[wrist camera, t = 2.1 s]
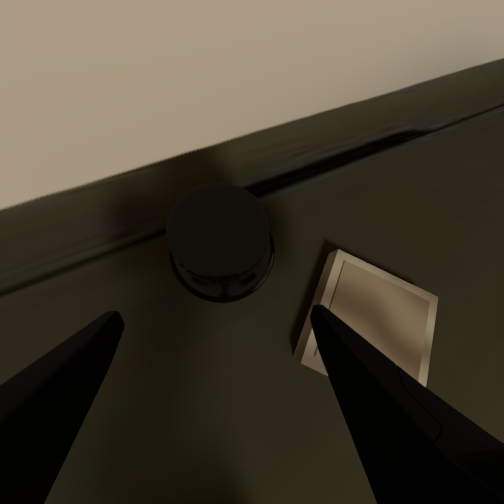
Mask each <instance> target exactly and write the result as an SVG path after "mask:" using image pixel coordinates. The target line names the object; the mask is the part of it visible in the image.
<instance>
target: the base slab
mask: <svg viewBox="0 0 504 504" xmlns="http://www.w3.org/2000/svg"><path fill="white" fill-rule="evenodd" d="M437 303H438V297H437V296H435V295H433V294H431V293H429V292H427V291H425V290H422V289H420V288H418V287H416V286H414V285H412V284H410V283H408V282H406V281H404V280H402V279H400V278H398V277H395V276H393V275H391V274H389V273H387V272H385V271H383V270H381V269H379V268H377V267H375V266H373V265H371V264H368V263H366V262H364V261H362V260H360V259H358V258H356V257H354V256H352V255H350V254H348V253H346V252H344V251H341V250H339V249H338V250H335V251H333V252H331V253H329V254H328V257H327V260H326V263H325V266H324V269H323V272H322V275H321V278H320V280H319V283H318V286H317V289H316V292H315V295H314V298H313V301H312V303H311V306H310V309H309V312H308V315H307V318H306V321H305V324H304V327H303V329H302V332H301V335H300V338H299V341H298V344H297V347H296V350H295V353H294V355H293V356H294V357H295V358H296V359H297V360H298V361H299V362H300V363H302V364H304V365H306V366H308V367H310V368H312V369H314V370H316V371H318V372H320V373H322V374H324V375H327V376H328V374H327V371H326V369H325V366H324V364H323V361H322V359H321V356H320V353H319V350H318V347H317V343H316V340H315V336H314V332H313V329H312V325H311V322H310V314H311V311H312V308H313V306H314V305H316V304H322V305H324V306H325V307H326V308H327V309H329V310H330V311H331V312H332V313H334V314H335V315H336V316H337V317H339V318H340V319H341V320H342V321H344V322H345V323H346V324H347V325H348V326H350V327H351V328H352V329H353V330H355V331H356V332H357V333H358V334H360V335H361V336H362V337H363V338H365V339H366V340H367V341H368V342H369V343H371V344H372V345H373V346H374V347H376V348H377V349H378V350H379V351H381V352H382V353H383V354H384V355H386V356H387V357H388V358H389V359H390V360H392V361H393V362H394V363H395V364H396V365H398V366H399V367H400V368H402V369H403V370H404V371H405V372H407V373H408V374H409V375H410V376H412V377H413V378H414V379H416V380H417V381H418V382H419V383H421V384H422V385H423V386H424V387H426V383H427V375H428V368H429V361H430V354H431V346H432V339H433V332H434V324H435V317H436V310H437Z"/></svg>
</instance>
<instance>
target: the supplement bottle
mask: <svg viewBox="0 0 504 504" xmlns="http://www.w3.org/2000/svg"><path fill="white" fill-rule="evenodd" d="M167 219H168V222H167V224H166V226H165V227H166V230H167V232H166V236H165V237H166V239H167V240H168V248H169V249H170V262H171V266H172V269H173V272H174V274H175V276H176V278H177V279H178V281H179V282H180V283H181V284H182V286H183V287H184V288H185V289H186V290H188V291H189V292H190V293H192V294H193V295H195V296H197V297H199V298H201V299H204V300H207V301H211V302H217V303H227V302H234V301H237V300H240V299H242V298H245V297H247V296H249V295H250V294H252V293H253V292H255V291H256V290H257V289H258V288H259V287H260V286H261V285H262V284H263V283H264V281H265V280H266V279H267V277H268V275H269V273H270V271H271V269H272V266H273V262H274V255H275V248H274V241H273V237H272V234H271V232H270V229H271V228H270V226H269V218H268V217H267V215H266V210H265V209H264V208H263V207H262V204H261V202H259V201H258V200H257V199H256V197H255V196H254V195H252V194H250V193H249V192H248V190H244V189H242V188H241V187H240V186H234V185H232V184H224V183H221V182H220V183H209V184H207V185H200V186H199V187H197V188H192V189H191V190H190V191H189V192H186V193H184V194H183V196H182V198H180V199H178V200H177V202H176V205H174V206H173V207H172V208H171V213H170V214H169V215H168V217H167Z"/></svg>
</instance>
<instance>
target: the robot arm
mask: <svg viewBox="0 0 504 504" xmlns="http://www.w3.org/2000/svg"><path fill="white" fill-rule="evenodd" d="M310 322H311V325H312V329H313V332H314V336H315V340H316V343H317V347H318V350H319V353H320V356H321V359H322V361H323V364H324V366H325V369H326V371H327V374H328V377H329V379H330V382H331V384H332V387H333V390H334V392H335V395H336V397H337V400H338V403H339V405H340V408H341V410H342V413H343V416H344V418H345V421H346V423H347V426H348V428H349V431H350V434H351V436H352V439H353V441H354V444H355V447H356V449H357V452H358V454H359V457H360V460H361V462H362V465H363V467H364V470H365V473H366V475H367V477H368V481H369V483H370V486H371V488H372V491H373V494H374V496H375V499H376V501H377V504H504V443H502V442H500V441H499V440H497V439H496V438H494V437H493V436H492V435H490V434H489V433H487V432H486V431H485V430H483V429H482V428H480V427H479V426H478V425H476V424H475V423H474V422H472V421H471V420H469V419H468V418H467V417H465V416H464V415H463V414H461V413H460V412H458V411H457V410H456V409H454V408H453V407H452V406H450V405H449V404H447V403H446V402H445V401H443V400H442V399H441V398H439V397H438V396H437V395H435V394H434V393H433V392H431V391H430V390H428V389H427V388H426V387H424V386H423V385H422V384H421V383H419V382H418V381H417V380H416V379H414V378H413V377H412V376H410V375H409V374H408V373H407V372H405V371H404V370H403V369H402V368H400V367H399V366H398V365H396V364H395V363H394V362H393V361H392V360H390V359H389V358H388V357H387V356H386V355H384V354H383V353H382V352H381V351H379V350H378V349H377V348H376V347H374V346H373V345H372V344H371V343H369V342H368V341H367V340H366V339H365V338H363V337H362V336H361V335H360V334H358V333H357V332H356V331H355V330H353V329H352V328H351V327H350V326H348V325H347V324H346V323H345V322H344V321H342V320H341V319H340V318H339V317H337V316H336V315H335V314H334V313H332V312H331V311H330V310H329V309H327V308H326V307H325V306H324V305H322V304H316V305H314V306H313V308H312V311H311V314H310ZM123 330H124V322H123V319H122V317H121V315H120V313H119V312H118V311H109V312H106V313H104V314H103V315H101V316H100V317H99V318H97V319H96V320H94V321H93V322H91V323H90V324H88V325H87V326H86V327H84V328H83V329H81V330H80V331H78V332H77V333H75V334H74V335H72V336H71V337H70V338H68V339H67V340H65V341H64V342H62V343H61V344H59V345H58V346H57V347H55V348H54V349H52V350H51V351H49V352H48V353H46V354H45V355H44V356H42V357H41V358H39V359H38V360H36V361H35V362H33V363H32V364H31V365H29V366H28V367H26V368H25V369H23V370H22V371H20V372H19V373H17V374H16V375H15V376H13V377H12V378H10V379H9V380H7V381H6V382H4V383H3V384H2V385H0V504H44V502H45V500H46V498H47V496H48V494H49V492H50V490H51V488H52V486H53V484H54V482H55V480H56V477H57V475H58V473H59V471H60V469H61V467H62V465H63V463H64V461H65V459H66V457H67V455H68V453H69V450H70V448H71V446H72V444H73V442H74V440H75V438H76V436H77V434H78V432H79V430H80V428H81V425H82V423H83V421H84V419H85V417H86V415H87V413H88V411H89V409H90V407H91V405H92V403H93V400H94V398H95V396H96V394H97V392H98V390H99V388H100V386H101V384H102V382H103V380H104V378H105V376H106V373H107V371H108V369H109V367H110V365H111V362H112V360H113V357H114V354H115V352H116V349H117V346H118V343H119V341H120V338H121V335H122V332H123Z"/></svg>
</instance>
